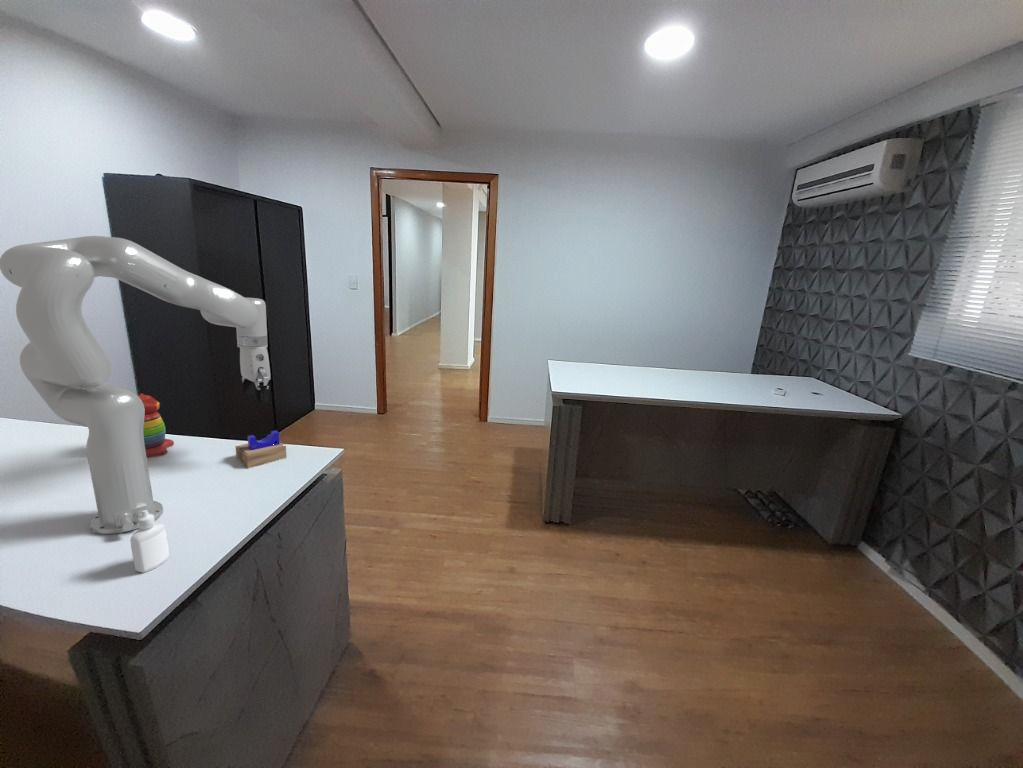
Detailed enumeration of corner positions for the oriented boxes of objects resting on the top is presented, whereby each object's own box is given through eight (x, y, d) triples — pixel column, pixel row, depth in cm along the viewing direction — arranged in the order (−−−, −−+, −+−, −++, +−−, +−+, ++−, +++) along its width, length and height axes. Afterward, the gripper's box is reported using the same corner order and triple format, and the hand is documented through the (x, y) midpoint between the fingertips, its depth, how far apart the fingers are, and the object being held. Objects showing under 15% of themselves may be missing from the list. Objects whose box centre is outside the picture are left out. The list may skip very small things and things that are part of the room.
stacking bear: (164, 456, 130) (156, 400, 126) (121, 459, 126) (112, 401, 122) (176, 442, 140) (169, 389, 135) (136, 445, 136) (128, 390, 131)
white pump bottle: (173, 563, 87) (165, 510, 84) (137, 576, 83) (127, 521, 80) (168, 552, 90) (160, 501, 87) (132, 565, 86) (123, 511, 83)
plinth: (286, 457, 135) (285, 445, 134) (248, 468, 127) (246, 455, 126) (274, 448, 141) (273, 436, 140) (236, 458, 132) (235, 445, 131)
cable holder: (275, 440, 137) (274, 428, 136) (279, 444, 135) (278, 432, 134) (247, 446, 131) (245, 434, 130) (250, 450, 129) (249, 438, 128)
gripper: (279, 345, 122) (281, 403, 126) (254, 336, 133) (257, 390, 136) (250, 347, 116) (253, 407, 120) (226, 337, 127) (230, 393, 131)
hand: (255, 398), depth 128 cm, fingers open, 9 cm apart
